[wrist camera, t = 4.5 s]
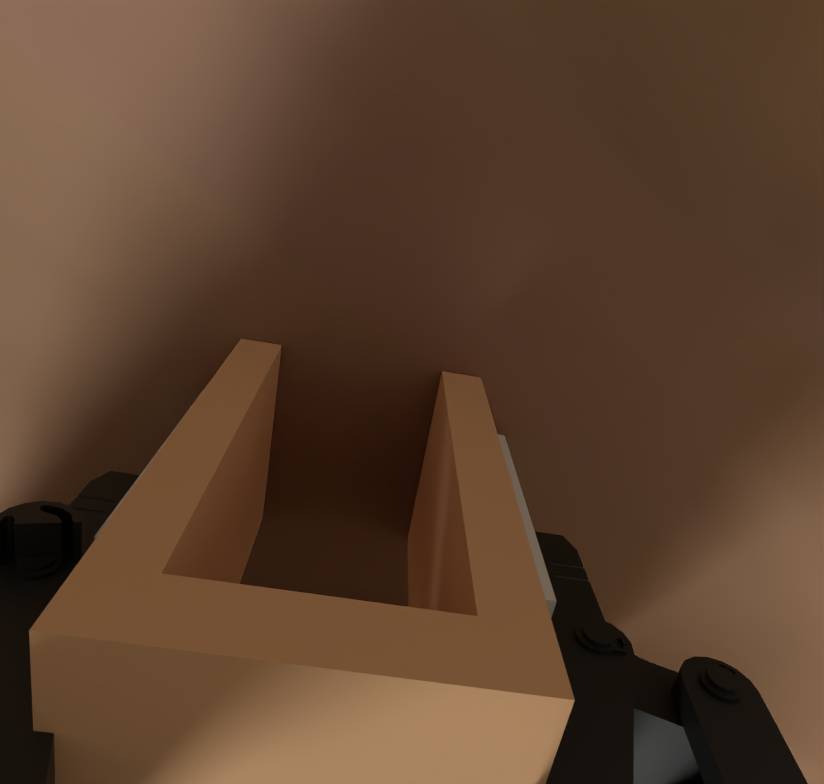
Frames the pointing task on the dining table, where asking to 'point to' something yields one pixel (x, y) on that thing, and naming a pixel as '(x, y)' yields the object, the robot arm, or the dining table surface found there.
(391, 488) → the dining table surface
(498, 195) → the dining table surface
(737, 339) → the dining table surface
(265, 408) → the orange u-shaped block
